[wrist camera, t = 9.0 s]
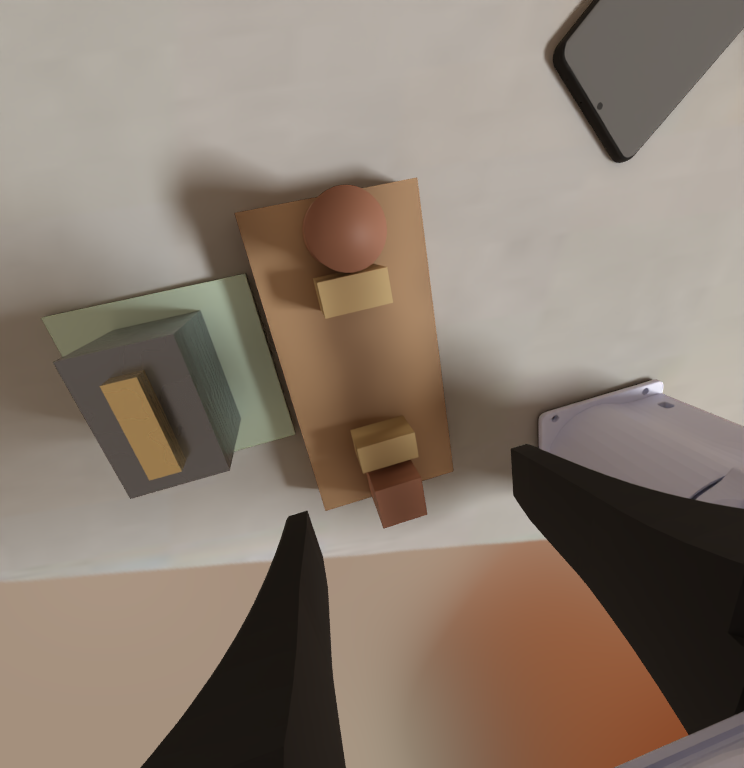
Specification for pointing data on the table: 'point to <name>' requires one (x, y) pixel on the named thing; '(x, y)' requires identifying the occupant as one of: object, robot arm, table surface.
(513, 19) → the table surface
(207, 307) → the mat
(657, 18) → the smartphone
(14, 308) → the table surface
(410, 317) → the block sculpture plaque
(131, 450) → the grey block
